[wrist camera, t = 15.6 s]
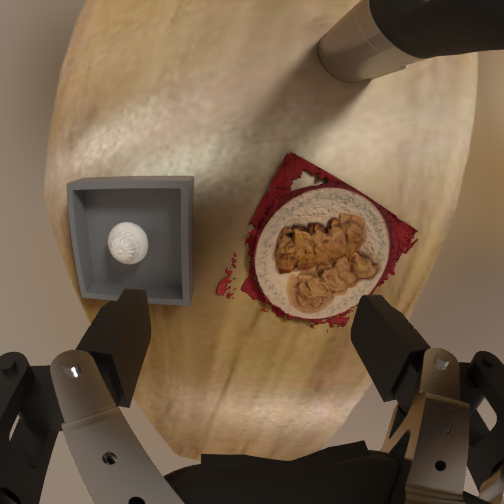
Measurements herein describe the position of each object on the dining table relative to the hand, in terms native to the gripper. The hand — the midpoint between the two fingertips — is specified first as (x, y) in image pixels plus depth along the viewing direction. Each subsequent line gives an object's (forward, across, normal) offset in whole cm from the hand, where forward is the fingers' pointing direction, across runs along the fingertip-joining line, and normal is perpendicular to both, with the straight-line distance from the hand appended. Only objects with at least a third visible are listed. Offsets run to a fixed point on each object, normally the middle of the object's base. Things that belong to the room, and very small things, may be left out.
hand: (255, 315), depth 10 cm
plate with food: (+33, -15, +11) cm, 38 cm away
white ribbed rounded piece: (+31, +15, +8) cm, 35 cm away
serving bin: (+32, +15, +8) cm, 36 cm away
